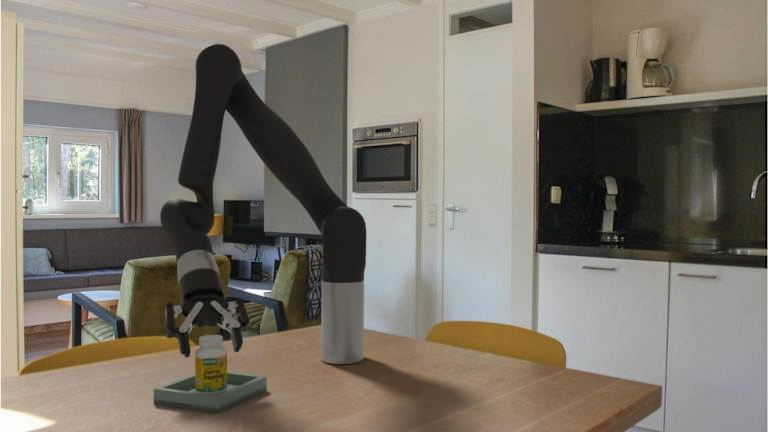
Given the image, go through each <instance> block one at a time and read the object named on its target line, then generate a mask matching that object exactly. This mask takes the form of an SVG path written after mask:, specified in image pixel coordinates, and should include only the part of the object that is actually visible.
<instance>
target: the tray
mask: <svg viewBox="0 0 768 432" xmlns="http://www.w3.org/2000/svg"><path fill="white" fill-rule="evenodd" d="M267 377H268V376H266V375H259V374H258V375H257V374H251V373H250V374H249V373H240V372H235V371H234V372H233V371H227V390H226V391H225V392H223V393H221V394H219V395H210V394H203V393H196V391H195V373H194V374H190V375H187V376H185V377H182V378H180V379H179V378H178V379H175V380H174V381H171V382H168V383H166V384H163V385H160V386H158V387H155V388H153V405H160V406H166V407H167V406H168V407H174V408H180V409H187V410H192V411H197V412H198V411H199V412H206V413H210V414H211V413H213V414H220V413H223V412H224V411H226V410H228V409H230V408H232V407H235V406H237V405H238V404H241V403H243V402H245V401H247V400H249V399H251V398H253V397H256V396H257V395H259V394H262V393H264V392H266V391H267Z"/></svg>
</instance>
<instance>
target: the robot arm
mask: <svg viewBox="0 0 768 432" xmlns="http://www.w3.org/2000/svg"><path fill="white" fill-rule="evenodd" d="M250 83H251V82H249V80H248V78H247V77H246V75H245V74H244V71H243V70H242V63H241V59H240V58H239V56H238V55H237V53H236V51H235V50H233V48H231V47H230V46H228V45H226V44H222V43H213V44H210V45H207V46H205V47H204V48H203V49H202V50H201V51H200V52H199V53H198V56H197V57H196V60H195V93H194V102H193V108H192V115H191V118H190V119H191V120H190V123H189V128H188V132H187V136H186V140H185V145H184V149H183V154H182V157H181V162H180V167H179V172H178V177H177V182H178V184H179V185H180V186H181V187H183V188H184V189H187V190H190V191H191V192H193V194H194V195H195V199H196V201H193V200H187V199H183V198H178V197H175V198H171V199H168V200H167V201H166V202H165V203H164V204H162V205H163V206H162V207H161V210H160V224H161V228H162V230H163V232H164V234H165V236H166V237H167V239H168V241H169V244H170V245H171V246H172V248H173V250H174V252H175V259H176V264H177V266H176V267H177V272H176V273H177V283H178V286H179V292H180V299H181V305H174V303H173V302H167V303H166V304H165V311H164V324H165V336H166V338H168V339H172V338H174V339H176V340H177V341H178V347H179V353H180V354H181V356H182V355H184V358H189V357H190V355H191V344H190V338H189V334H190V333H191V332H192V330H193V328H194V327H195V326H196V327H198V328H203V327H215V326H216V325H218V326H219V327H220V328H221V329H223V330H226V331H227V332H229V333H230V338H231V342H232V348H233V352H234V353H239V352H240V349H242V347H243V343H244V341H243V340H244V339H243V336H242V332H246V331H248V327H249V324H250V319H249V315H248V313H247V309H246V305H245V302H244V300H243V298H241V297H237V298H236V301H228V300H227V299H226V298H225V295H224V290H223V285H222V284H223V283H222V280H221V275H220V272H219V271H220V270H219V267H218V264H217V261H216V259H215V255H214V254H215V253H214V250H213V245H212V241H211V238H210V237H209V236H208V234H209V233H210V232H212V229H213V227H214V224H215V206H214V205H215V203H214V181H215V176H216V171H217V167H218V161H219V158H220V157H219V155H220V150H221V143H222V142H221V141H222V131H223V123H224V118H225V112H228V114H229V115H230V116H231V117H232V119H233V120H234V121H235V122H236V125H237V126H238V127H239V129H240V131H241V133H242V134H243V135H244V137H245V138H246V140H247V142H248V143H249V145H250V146H251V147H252V149H253V150H254V152H255V153H256V155H257V156H258V157H259V159H260V160H261V161H262V162H263V163H264V165H265V166H266V167H267V169H268V170H269V171H270V172H271V174H273V176H274V177H275V178H276V179H277V180H278V181H279V183H280V184H281V185H282V186H283V187H284V188H285V189H286V190H287V191H288V192H289V193H290V194H291V195H292V196H293V197H294V198H295V199H296V200H297V201H298V202H299V203H300V204H301V206H302V207H303V208H304V210H305V211H306V212H307V214H308V215H309V217H310V218H311V220H312V221H313V224H314V225H315V226H316V227H317V229H318V231H319V232H320V233H319V234H321V236H322V266H321V331H320V332H321V334H320V335H321V339H320V340H321V343H320V346H321V347H320V349H321V350H320V351H321V352H320V353H321V354H320V357H321V358H320V359H321V361H322V362H323V363H326V364H327V363H328V364H333V365H351V364H356V363H361V362H363V361H364V359H365V358H364V356H365V353H364V351H365V350H364V349H365V344H364V343H365V270H366V266H367V265H366V264H367V262H366V261H367V224H366V221H365V217H364V216H363V215H362V214H361V213H360V212H359V211H358V210H356V209H355V208H352V207H349V206H348V205H347V204H346V203H345V202H344V201H343V200H342V199H341V198H340V197H339V196H338V195H337V194H336V193H335V191H334V190H333V189H332V187H330V186H329V184H328V183H327V180H326V179H325V178H324V175H323V174H322V171H321V170H320V167H319V166H318V164H317V163H316V160H315V159H314V157H313V156H312V154H311V153H310V151H309V149H308V148H307V147H306V145H305V144H304V143H303V141H302V140H301V139H300V137H299V136H298V135H297V133H296V132H295V131H294V129H292V127H290V125H289V124H288V123H287V122H286V121H285V120H284V119H283V118H281V116H280V115H279V114H277V112H275V110H273V109H272V108H270V107H269V106H268V104H266V103H265V102H264V101H263V100H262V99H261V98H260V96H259V95H258V94H257V92H256V90H255V89H254V87H253V86H252V85H251V84H250ZM228 310H231V312H232V313H233V314H234V315H236V319H237V320H236V319H235V318H233V315H232V314H231V313H230V312H229V311H228ZM180 313H181V315H182V316H183V317H184V318H185V320H184V321H183V323H182V324H181V325H180V327H178V326H176V322H175V321H176V320H175V318H177V317H178V314H180Z"/></svg>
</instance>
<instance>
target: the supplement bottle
mask: <svg viewBox="0 0 768 432" xmlns="http://www.w3.org/2000/svg"><path fill="white" fill-rule="evenodd" d="M223 343H224V337H223V335H220V334H208V335H207V334H205V335H202V336H200V337H199V338H198V345H199V346H200V348H198V349H197V350H196V351H195V354H194V362H195V363H194V368H195V371H194V374H195V391H196V393H203V394H210V395H219V394H221V393H223V392H225V391H226V390H227V372H228V351H227V349H226V348H225V347H223Z"/></svg>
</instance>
